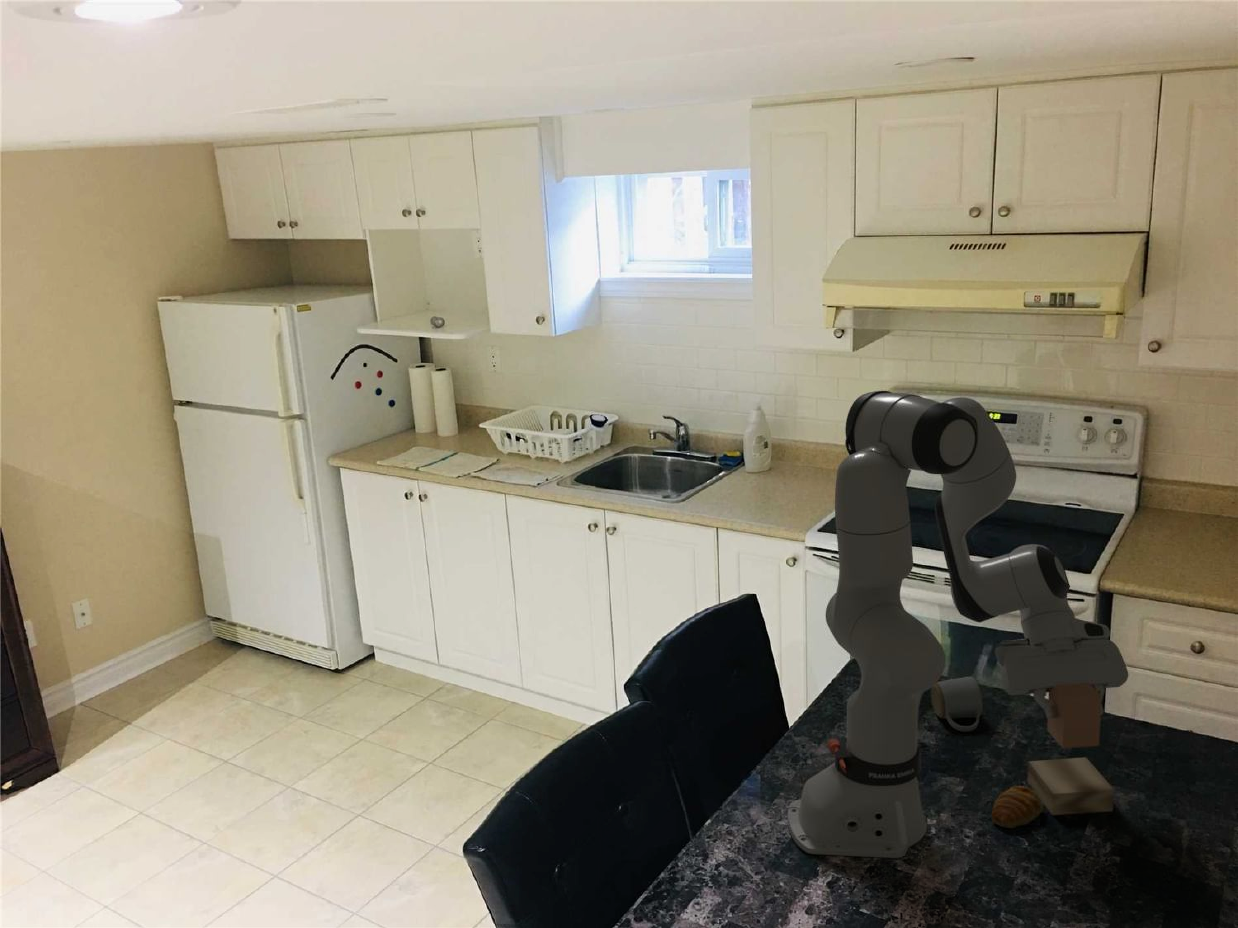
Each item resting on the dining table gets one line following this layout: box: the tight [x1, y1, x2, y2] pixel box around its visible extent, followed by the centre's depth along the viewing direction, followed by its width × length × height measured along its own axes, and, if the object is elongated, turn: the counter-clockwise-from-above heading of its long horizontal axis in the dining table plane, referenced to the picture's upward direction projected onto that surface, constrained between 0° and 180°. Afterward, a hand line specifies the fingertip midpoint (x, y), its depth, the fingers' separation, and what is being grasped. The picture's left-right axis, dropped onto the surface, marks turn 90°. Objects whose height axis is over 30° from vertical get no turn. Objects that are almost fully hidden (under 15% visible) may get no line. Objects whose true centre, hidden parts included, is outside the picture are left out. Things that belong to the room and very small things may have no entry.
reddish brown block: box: [1046, 683, 1103, 749], centre depth 172 cm, size 6×6×9 cm
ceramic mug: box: [930, 676, 984, 733], centre depth 202 cm, size 11×8×8 cm
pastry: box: [991, 784, 1045, 829], centre depth 171 cm, size 9×7×4 cm
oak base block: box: [1027, 756, 1115, 816], centre depth 175 cm, size 10×10×4 cm
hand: (1075, 715), depth 171 cm, fingers closed on reddish brown block, 6 cm apart
